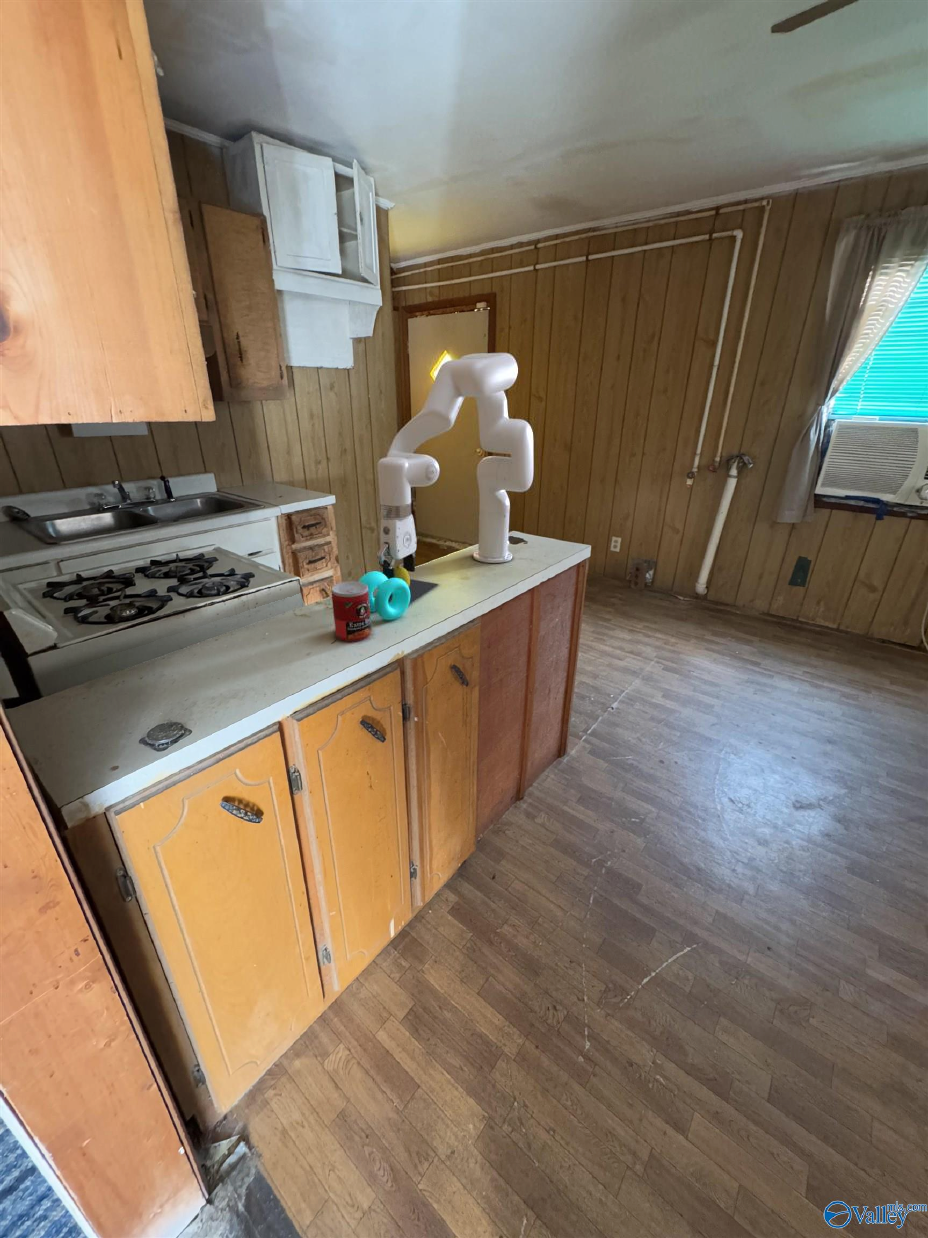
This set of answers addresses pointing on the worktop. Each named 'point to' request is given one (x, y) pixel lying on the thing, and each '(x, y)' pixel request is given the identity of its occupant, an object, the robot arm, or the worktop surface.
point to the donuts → (386, 595)
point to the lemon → (402, 574)
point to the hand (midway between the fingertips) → (399, 576)
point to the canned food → (351, 610)
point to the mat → (417, 589)
